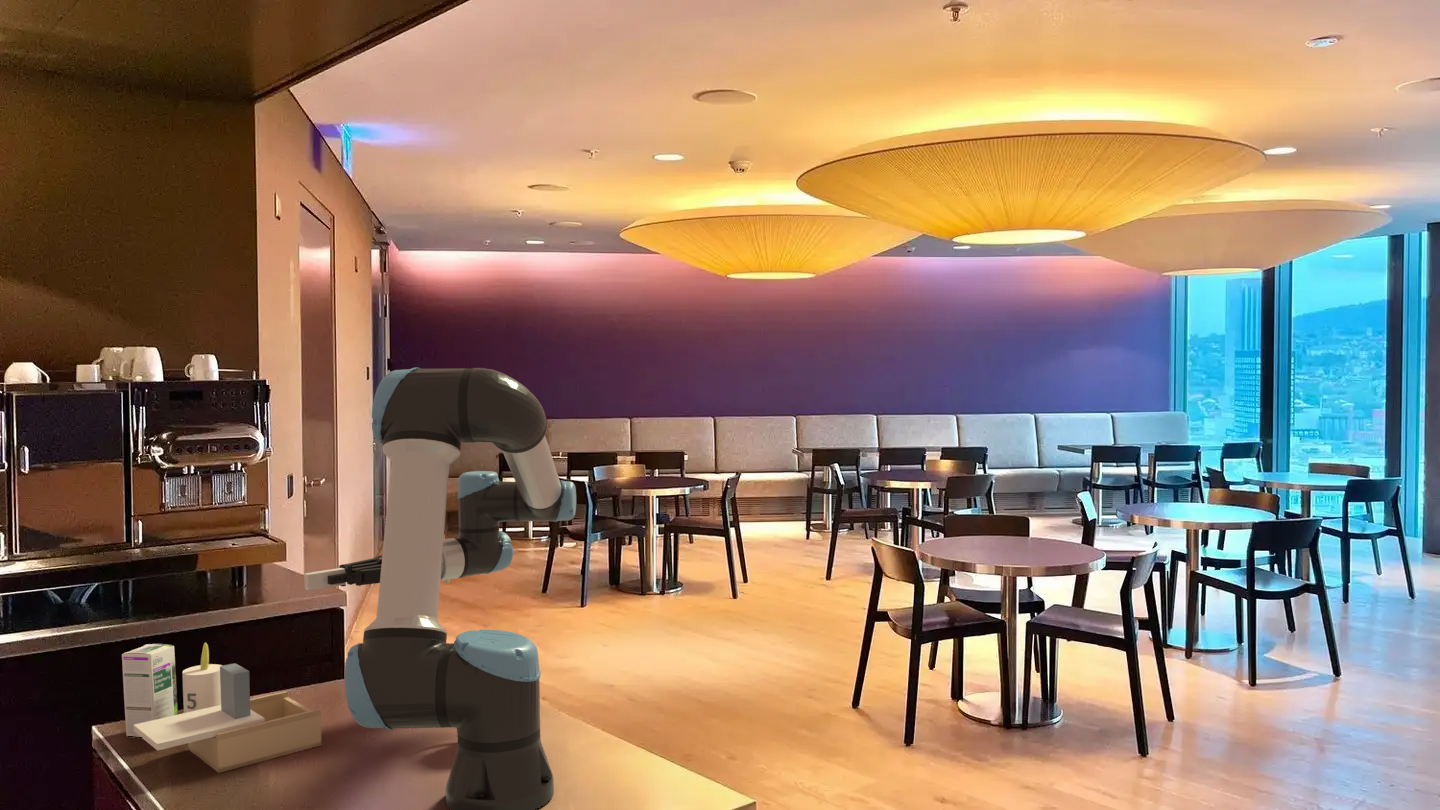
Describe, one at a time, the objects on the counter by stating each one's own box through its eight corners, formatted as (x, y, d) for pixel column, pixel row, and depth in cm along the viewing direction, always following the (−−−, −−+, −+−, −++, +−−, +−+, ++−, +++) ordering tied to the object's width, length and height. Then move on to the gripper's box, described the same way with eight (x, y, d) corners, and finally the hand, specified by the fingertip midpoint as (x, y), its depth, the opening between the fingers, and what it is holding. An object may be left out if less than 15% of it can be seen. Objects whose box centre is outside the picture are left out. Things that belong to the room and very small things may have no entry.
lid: (237, 707, 175) (235, 658, 175) (264, 724, 167) (263, 673, 167) (133, 731, 165) (131, 679, 164) (157, 750, 156) (155, 696, 156)
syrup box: (154, 739, 176) (151, 653, 175) (124, 737, 177) (121, 651, 177) (179, 727, 182) (176, 644, 181) (149, 725, 183) (146, 642, 182)
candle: (175, 736, 177) (172, 648, 177) (200, 723, 184) (197, 637, 183) (209, 738, 176) (206, 649, 176) (233, 724, 183) (230, 639, 182)
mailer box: (286, 724, 182) (285, 690, 182) (321, 745, 172) (320, 709, 172) (188, 749, 171) (186, 713, 171) (219, 773, 161) (217, 734, 161)
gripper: (452, 587, 189) (323, 610, 172) (416, 576, 198) (290, 598, 182) (451, 545, 189) (322, 565, 172) (415, 537, 198) (289, 554, 181)
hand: (306, 582), depth 177 cm, fingers closed
